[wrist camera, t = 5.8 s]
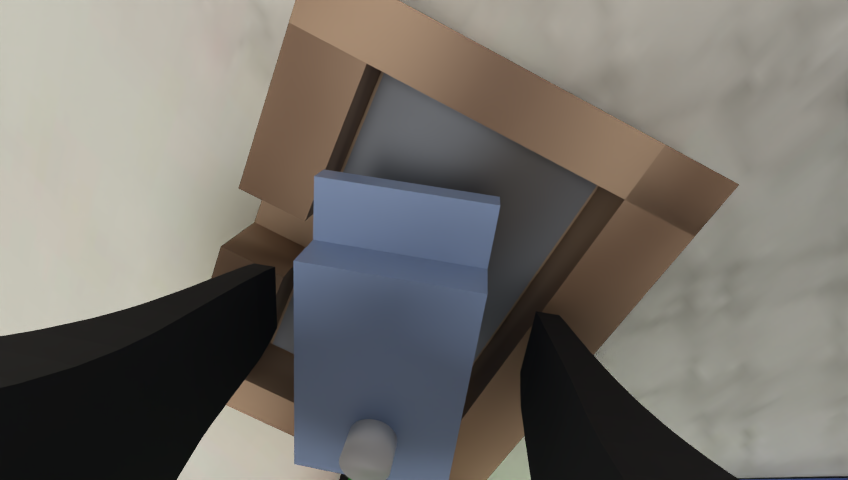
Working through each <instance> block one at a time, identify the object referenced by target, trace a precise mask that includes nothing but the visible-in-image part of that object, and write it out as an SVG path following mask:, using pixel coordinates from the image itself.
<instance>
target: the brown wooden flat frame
mask: <svg viewBox="0 0 848 480" xmlns="http://www.w3.org/2000/svg"><path fill="white" fill-rule="evenodd" d="M322 170H331V171H337V172H344V173H350V174H356V175H363V176H369V177H376V178H382V179H389V180H395V181H401V182H408V183H414V184H421V185H427V186H434V187H440V188H446V189H453V190H459V191H466V192H472V193H479V194H485V195H491V196H498V197H500V210H499V215H498V220H497V225H496V230H495V235H494V240H493V245H492V249H491V254H490V259H489V264H488V294H487V299H486V304H485V309H484V313H483V318H482V323H481V328H480V333H479V337H478V342H477V347H476V352H475V356H474V361H473V366H472V371H471V376H470V380H469V385H468V390H467V395H466V400H465V404H464V409H463V414H462V419H461V423H460V428H459V433H458V438H457V443H456V447H455V452H454V457H453V462H452V466H451V471H450V476H449V480H487V479H488V478H489V476H490V475H491V474H492V473H493V472H494V471H495V469H496V468H497V467H498V466H499V465H500V463H501V462H502V461H503V460H504V459H505V458H506V456H507V455H508V454H509V453H510V452H511V451H512V449H513V448H514V447H515V446H516V445H517V444H518V442H519V441H520V440H521V439H522V438H523V437H524V435H525V434H524V427H523V420H522V413H521V400H520V371H521V367H522V363H523V359H524V355H525V352H526V348H527V344H528V340H529V336H530V332H531V329H532V325H533V321H534V317H535V313H536V311H538V312H544V313H550V314H556V315H560V316H561V317H562V319H563V320H564V321H565V322H566V323H567V324H568V326H569V327H570V328H571V329H572V331H573V332H574V333H575V334H576V335H577V337H578V338H579V339H580V340H581V341H582V343H583V344H584V345H585V346H586V347H587V348H588V350H589V351H590V352H591V353H592V354H593V355H594V354H595V352H596V351H597V350H598V349H599V348H600V347H601V345H602V344H603V343H604V342H605V341H606V340H607V338H608V337H609V336H610V335H611V334H612V333H613V331H614V330H615V329H616V328H617V327H618V326H619V324H620V323H621V322H622V321H623V320H624V319H625V317H626V316H627V315H628V314H629V313H630V312H631V310H632V309H633V308H634V307H635V306H636V305H637V303H638V302H639V301H640V300H641V299H642V298H643V296H644V295H645V294H646V293H647V292H648V291H649V289H650V288H651V287H652V286H653V285H654V284H655V282H656V281H657V280H658V279H659V278H660V276H661V275H662V274H663V273H664V272H665V271H666V269H667V268H668V267H669V266H670V265H671V264H672V262H673V261H674V260H675V259H676V258H677V257H678V255H679V254H680V253H681V252H682V251H683V250H684V248H685V247H686V246H687V245H688V244H689V243H690V241H691V240H692V239H693V238H694V237H695V236H696V234H697V233H698V232H699V231H700V230H701V229H702V227H703V226H704V225H705V224H706V223H707V222H708V220H709V219H710V218H711V217H712V216H713V215H714V213H715V212H716V211H717V210H718V209H719V208H720V206H721V205H722V204H723V203H724V202H725V201H726V199H727V198H728V197H729V196H730V195H731V194H732V192H733V191H734V190H735V189H736V188H737V187H738V185H739V184H737V183H735V182H733V181H732V180H730V179H728V178H726V177H724V176H722V175H720V174H719V173H717V172H715V171H713V170H711V169H709V168H707V167H706V166H704V165H702V164H700V163H698V162H696V161H695V160H693V159H691V158H689V157H687V156H685V155H683V154H682V153H680V152H678V151H676V150H674V149H672V148H671V147H669V146H667V145H665V144H663V143H661V142H659V141H658V140H656V139H654V138H652V137H650V136H648V135H646V134H645V133H643V132H641V131H639V130H637V129H635V128H634V127H632V126H630V125H628V124H626V123H624V122H622V121H621V120H619V119H617V118H615V117H613V116H611V115H609V114H608V113H606V112H604V111H602V110H600V109H598V108H597V107H595V106H593V105H591V104H589V103H587V102H585V101H584V100H582V99H580V98H578V97H576V96H574V95H573V94H571V93H569V92H567V91H565V90H563V89H561V88H560V87H558V86H556V85H554V84H552V83H550V82H548V81H547V80H545V79H543V78H541V77H539V76H537V75H536V74H534V73H532V72H530V71H528V70H526V69H524V68H523V67H521V66H519V65H517V64H515V63H513V62H511V61H510V60H508V59H506V58H504V57H502V56H500V55H499V54H497V53H495V52H493V51H491V50H489V49H487V48H486V47H484V46H482V45H480V44H478V43H476V42H475V41H473V40H471V39H469V38H467V37H465V36H463V35H462V34H460V33H458V32H456V31H454V30H452V29H450V28H449V27H447V26H445V25H443V24H441V23H439V22H438V21H436V20H434V19H432V18H430V17H428V16H426V15H425V14H423V13H421V12H419V11H417V10H415V9H413V8H412V7H410V6H408V5H406V4H404V3H402V2H401V1H399V0H296V1H295V4H294V7H293V11H292V14H291V17H290V20H289V24H288V27H287V30H286V34H285V37H284V40H283V44H282V47H281V50H280V53H279V57H278V60H277V63H276V67H275V70H274V73H273V77H272V80H271V83H270V86H269V90H268V93H267V96H266V100H265V103H264V106H263V110H262V113H261V116H260V119H259V123H258V126H257V129H256V133H255V136H254V139H253V143H252V146H251V149H250V152H249V156H248V159H247V162H246V166H245V169H244V172H243V176H242V179H241V182H240V185H239V189H241V190H243V191H245V192H247V193H249V194H251V195H253V196H255V197H257V198H259V199H261V200H262V201H261V204H260V207H259V210H258V213H257V216H256V219H255V222H254V223H253V224H251V225H250V226H249V227H247V228H246V229H245V230H243V231H242V232H240V233H239V234H238V235H236V236H235V237H233V238H232V239H231V240H229V241H228V242H227V243H225V244H224V245H222V246H221V248H220V251H219V255H218V258H217V261H216V265H215V268H214V271H213V275H212V278H215V277H217V276H220V275H222V274H225V273H227V272H230V271H233V270H235V269H238V268H241V267H244V266H247V265H250V264H254V263H255V264H261V265H267V266H273V267H275V275H276V307H277V329H276V331H275V333H274V335H273V337H272V339H271V341H270V342H269V344H268V346H267V348H266V350H265V351H264V353H263V355H262V357H261V358H260V360H259V361H258V362H257V364H256V365H255V367H254V368H253V369H252V371H251V372H250V373H249V375H248V376H247V377H246V379H245V380H244V381H243V383H242V384H241V385H240V387H239V388H238V389H237V391H236V392H235V393H234V395H233V396H232V397H231V399H230V400H229V401H228V403H227V404H226V405H227V406H229V407H232V408H234V409H236V410H238V411H240V412H242V413H245V414H247V415H249V416H251V417H253V418H255V419H258V420H260V421H262V422H264V423H266V424H268V425H271V426H273V427H275V428H277V429H279V430H281V431H284V432H286V433H288V434H290V435H292V436H294V271H293V261H294V260H295V259H296V257H297V256H298V255H299V254H300V253H301V252H302V251H303V250H304V249H305V248H306V247H307V246H308V245H309V244H310V243H311V241H312V240H313V215H314V176H315V175H317V174H318V173H319V172H321V171H322ZM212 278H211V279H212Z"/></svg>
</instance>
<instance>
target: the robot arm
mask: <svg viewBox="0 0 848 480" xmlns="http://www.w3.org/2000/svg"><path fill="white" fill-rule="evenodd" d="M276 329H277V307H276V275H275V267H273V266H267V265H261V264H255V263H254V264H250V265H247V266H244V267H241V268H238V269H235V270H233V271H230V272H227V273H225V274H222V275H220V276H217V277H215V278H212V279H210V280H207V281H204V282H202V283H199V284H197V285H194V286H192V287H189V288H186V289H184V290H181V291H178V292H175V293H173V294H170V295H167V296H164V297H161V298H158V299H156V300H153V301H150V302H147V303H144V304H141V305H138V306H135V307H131V308H128V309H125V310H121V311H117V312H114V313H110V314H107V315H103V316H99V317H95V318H91V319H87V320H82V321H78V322H73V323H69V324H64V325H59V326H55V327H50V328H45V329H41V330H35V331H30V332H24V333H18V334H12V335H6V336H0V480H177V478H178V477H179V475H180V473H181V471H182V470H183V468H184V466H185V465H186V463H187V462H188V460H189V458H190V457H191V455H192V453H193V452H194V450H195V448H196V447H197V445H198V443H199V442H200V440H201V438H202V437H203V436H204V434H205V433H206V431H207V430H208V428H209V427H210V425H211V424H212V423H213V421H214V420H215V419H216V417H217V416H218V415H219V413H220V412H221V411H222V409H223V408H224V407H225V405H226V404H227V403H228V401H229V400H230V399H231V397H232V396H233V395H234V393H235V392H236V391H237V389H238V388H239V387H240V385H241V384H242V383H243V381H244V380H245V379H246V377H247V376H248V375H249V373H250V372H251V371H252V369H253V368H254V367H255V365H256V364H257V362H258V361H259V360H260V358H261V357H262V355H263V353H264V351H265V350H266V348H267V346H268V344H269V342H270V341H271V339H272V337H273V335H274V333H275V331H276ZM520 400H521V413H522V420H523V427H524V434H525V441H526V448H527V455H528V462H529V469H530V475H531V480H739V479H737V478H736V477H734V476H733V475H731V474H730V473H728V472H727V471H725V470H724V469H723V468H721V467H720V466H718V465H717V464H715V463H714V462H713V461H711V460H710V459H708V458H707V457H706V456H704V455H703V454H702V453H700V452H699V451H698V450H696V449H695V448H694V447H692V446H691V445H690V444H688V443H687V442H686V441H684V440H683V439H682V438H680V437H679V436H678V435H677V434H675V433H674V432H673V431H672V430H670V429H669V428H668V427H667V426H665V425H664V424H663V423H662V422H661V421H660V420H658V419H657V418H656V417H655V416H654V415H653V414H651V413H650V412H649V411H648V410H647V409H646V408H645V407H643V406H642V405H641V404H640V403H639V402H638V401H637V400H636V399H635V398H634V397H633V396H632V395H631V394H630V393H629V392H628V391H627V390H626V389H625V388H624V387H623V386H622V385H621V384H620V383H619V382H618V381H617V380H616V379H615V378H614V377H613V376H612V375H611V374H610V373H609V372H608V371H607V370H606V369H605V368H604V367H603V366H602V364H601V363H600V362H599V361H598V360H597V359H596V358H595V357H594V355H593V354H592V353H591V352H590V351H589V350H588V348H587V347H586V346H585V345H584V344H583V343H582V341H581V340H580V339H579V338H578V337H577V335H576V334H575V333H574V332H573V331H572V329H571V328H570V327H569V326H568V324H567V323H566V322H565V321H564V320H563V319H562V317H561V316H560V315H556V314H550V313H544V312H538V311H536V313H535V317H534V321H533V325H532V329H531V332H530V336H529V340H528V344H527V348H526V352H525V355H524V359H523V363H522V367H521V371H520Z"/></svg>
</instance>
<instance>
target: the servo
mask: <svg viewBox="0 0 848 480" xmlns="http://www.w3.org/2000/svg"><path fill="white" fill-rule="evenodd" d="M499 210H500V197H498V196H491V195H485V194H479V193H472V192H466V191H459V190H453V189H446V188H440V187H434V186H427V185H421V184H414V183H408V182H401V181H395V180H389V179H382V178H376V177H369V176H363V175H356V174H350V173H344V172H337V171H331V170H322V171H321V172H319V173H318V174H317V175H315V176H314V215H313V240H312V241H311V243H310V244H309V245H308V246H307V247H306V248H305V249H304V250H303V251H302V252H301V253H300V254H299V255H298V256H297V257H296V259H295V260H294V261H293V271H294V464H297V465H302V466H307V467H312V468H316V469H321V470H326V471H331V472H336V473H340V474H345V475H346V476H347V477H348V478H350V479H351V480H449V476H450V471H451V466H452V462H453V457H454V452H455V447H456V443H457V438H458V433H459V428H460V423H461V419H462V414H463V409H464V404H465V400H466V395H467V390H468V385H469V380H470V376H471V371H472V366H473V361H474V356H475V352H476V347H477V342H478V337H479V333H480V328H481V323H482V318H483V313H484V309H485V304H486V299H487V294H488V264H489V259H490V254H491V249H492V245H493V240H494V235H495V230H496V225H497V220H498V215H499Z"/></svg>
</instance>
